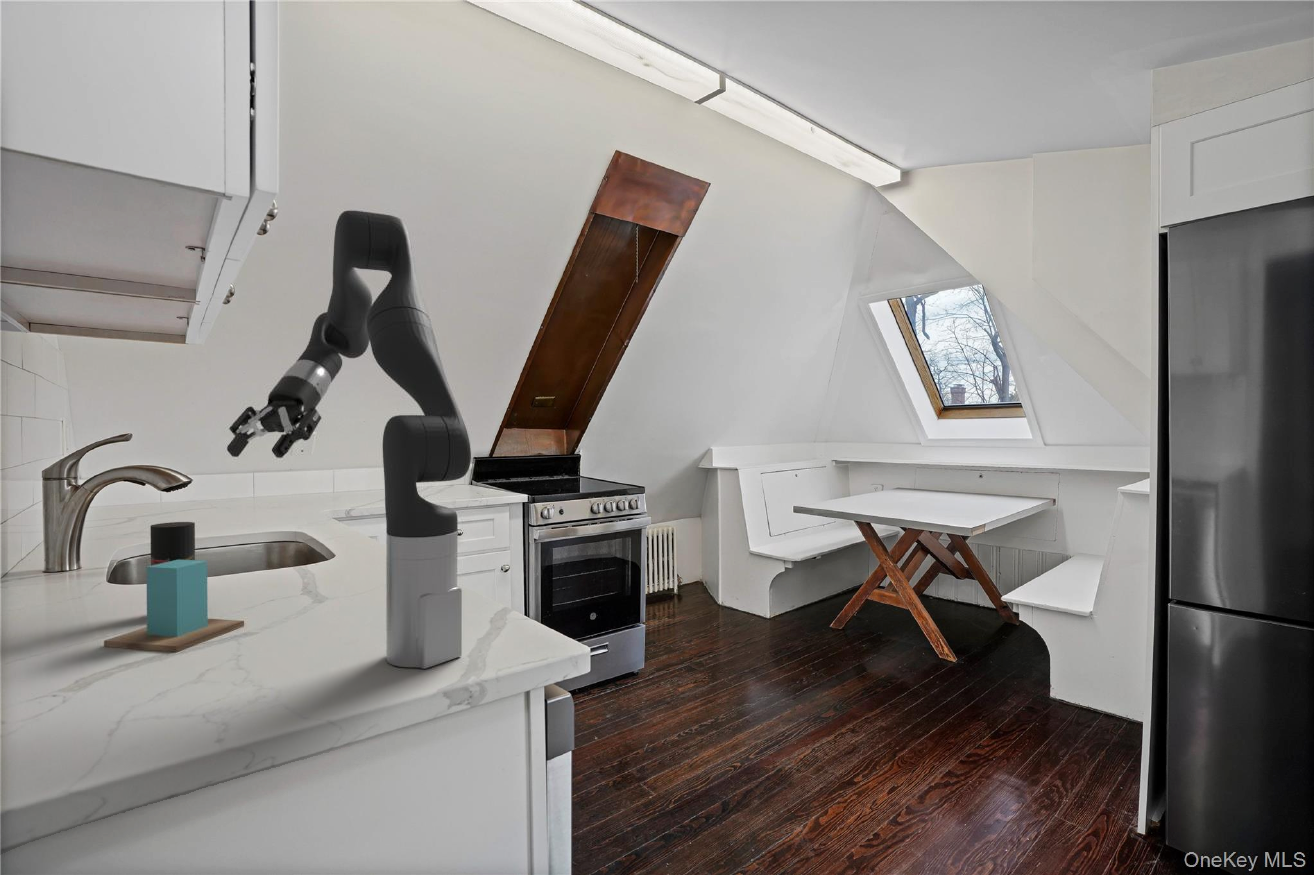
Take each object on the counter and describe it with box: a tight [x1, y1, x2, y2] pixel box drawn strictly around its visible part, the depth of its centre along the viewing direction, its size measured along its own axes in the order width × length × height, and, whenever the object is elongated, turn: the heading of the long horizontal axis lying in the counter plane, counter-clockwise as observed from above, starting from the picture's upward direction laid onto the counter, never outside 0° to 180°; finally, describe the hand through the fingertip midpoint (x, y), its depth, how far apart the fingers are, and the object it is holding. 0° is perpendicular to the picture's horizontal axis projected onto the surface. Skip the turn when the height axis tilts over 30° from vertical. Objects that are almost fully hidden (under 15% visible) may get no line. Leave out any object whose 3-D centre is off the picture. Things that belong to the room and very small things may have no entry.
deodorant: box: [149, 521, 196, 566], centre depth 109 cm, size 6×6×15 cm
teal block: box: [145, 559, 209, 637], centre depth 99 cm, size 5×5×10 cm
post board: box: [103, 618, 245, 653], centre depth 99 cm, size 12×12×8 cm
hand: (253, 454), depth 111 cm, fingers open, 8 cm apart
